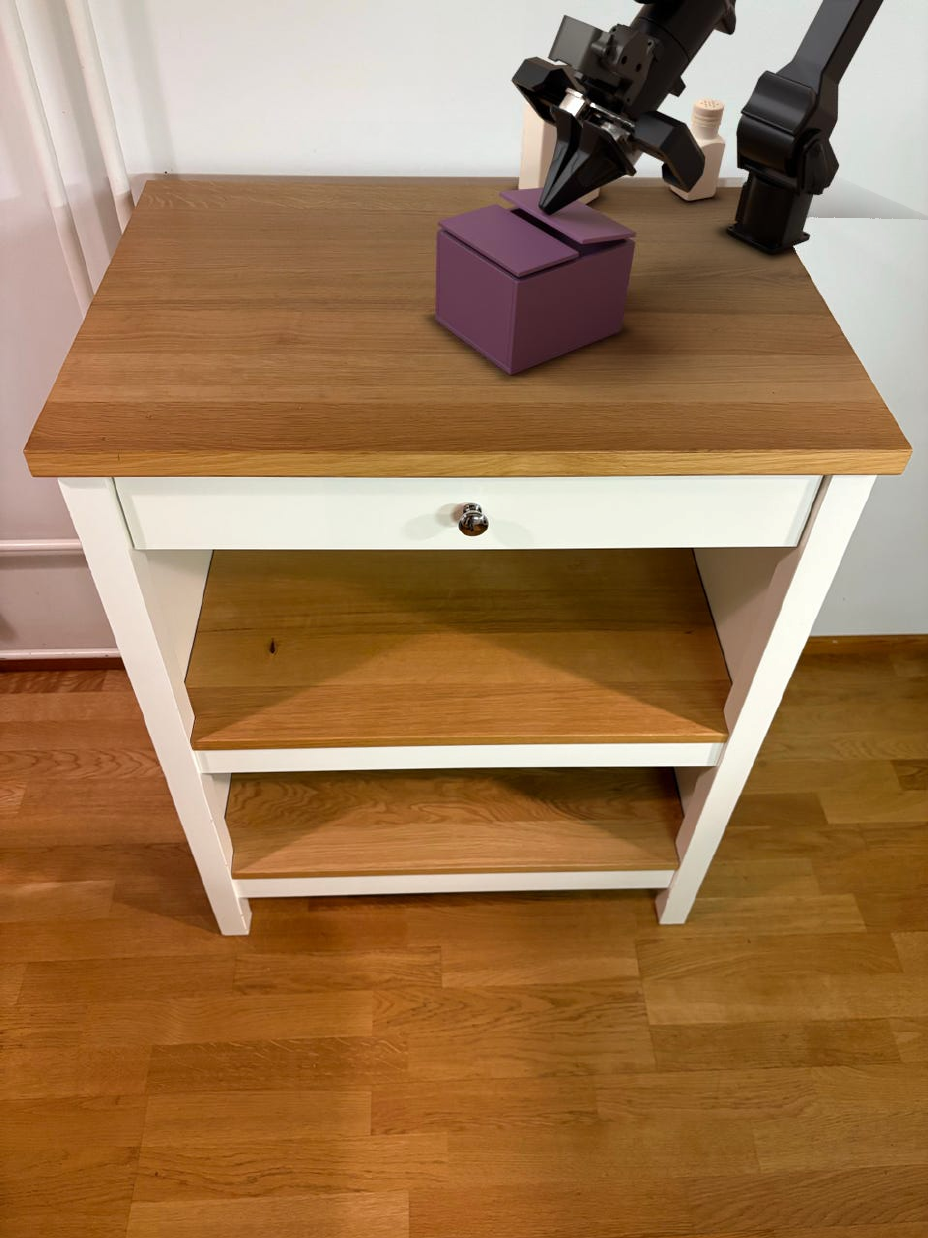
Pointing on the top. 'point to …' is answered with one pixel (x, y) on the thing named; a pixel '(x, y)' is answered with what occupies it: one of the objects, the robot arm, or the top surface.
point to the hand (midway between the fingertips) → (543, 211)
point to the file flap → (570, 218)
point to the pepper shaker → (706, 147)
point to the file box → (526, 286)
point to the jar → (542, 146)
